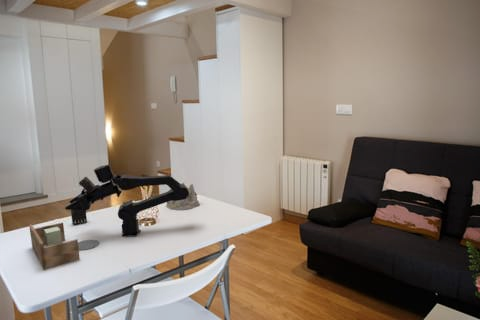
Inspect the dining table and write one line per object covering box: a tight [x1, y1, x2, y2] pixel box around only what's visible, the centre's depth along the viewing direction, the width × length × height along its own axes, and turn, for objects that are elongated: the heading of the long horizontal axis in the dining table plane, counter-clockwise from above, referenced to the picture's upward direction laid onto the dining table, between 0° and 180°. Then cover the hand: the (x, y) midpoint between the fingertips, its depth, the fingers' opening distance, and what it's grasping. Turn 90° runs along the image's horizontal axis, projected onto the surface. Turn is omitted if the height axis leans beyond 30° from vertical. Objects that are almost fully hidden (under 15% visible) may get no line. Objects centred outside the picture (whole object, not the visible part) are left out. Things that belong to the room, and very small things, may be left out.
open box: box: [28, 222, 81, 270], centre depth 146 cm, size 12×25×10 cm, turn 37°
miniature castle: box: [165, 182, 200, 212], centre depth 203 cm, size 16×16×15 cm
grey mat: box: [78, 239, 100, 251], centre depth 154 cm, size 10×10×1 cm
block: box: [44, 227, 63, 247], centre depth 146 cm, size 5×5×10 cm
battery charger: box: [69, 202, 88, 226], centre depth 179 cm, size 7×4×11 cm, turn 126°
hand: (67, 205), depth 157 cm, fingers open, 9 cm apart
